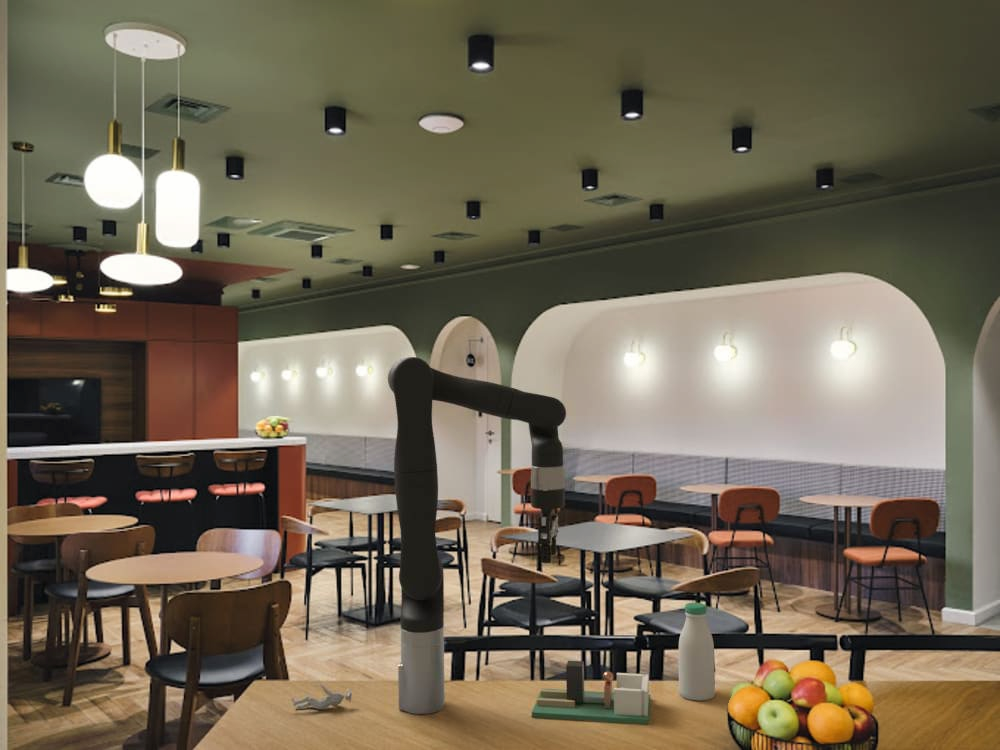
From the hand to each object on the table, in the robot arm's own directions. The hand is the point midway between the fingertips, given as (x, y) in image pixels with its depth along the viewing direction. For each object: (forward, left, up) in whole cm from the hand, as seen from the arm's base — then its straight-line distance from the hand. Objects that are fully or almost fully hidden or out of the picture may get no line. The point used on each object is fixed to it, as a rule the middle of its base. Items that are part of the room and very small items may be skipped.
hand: (548, 558), depth 195 cm
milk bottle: (+32, +4, -30) cm, 44 cm away
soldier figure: (-47, -16, -30) cm, 59 cm away
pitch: (+10, -7, -30) cm, 32 cm away
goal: (+18, -7, -29) cm, 35 cm away
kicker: (+10, -7, -29) cm, 31 cm away
